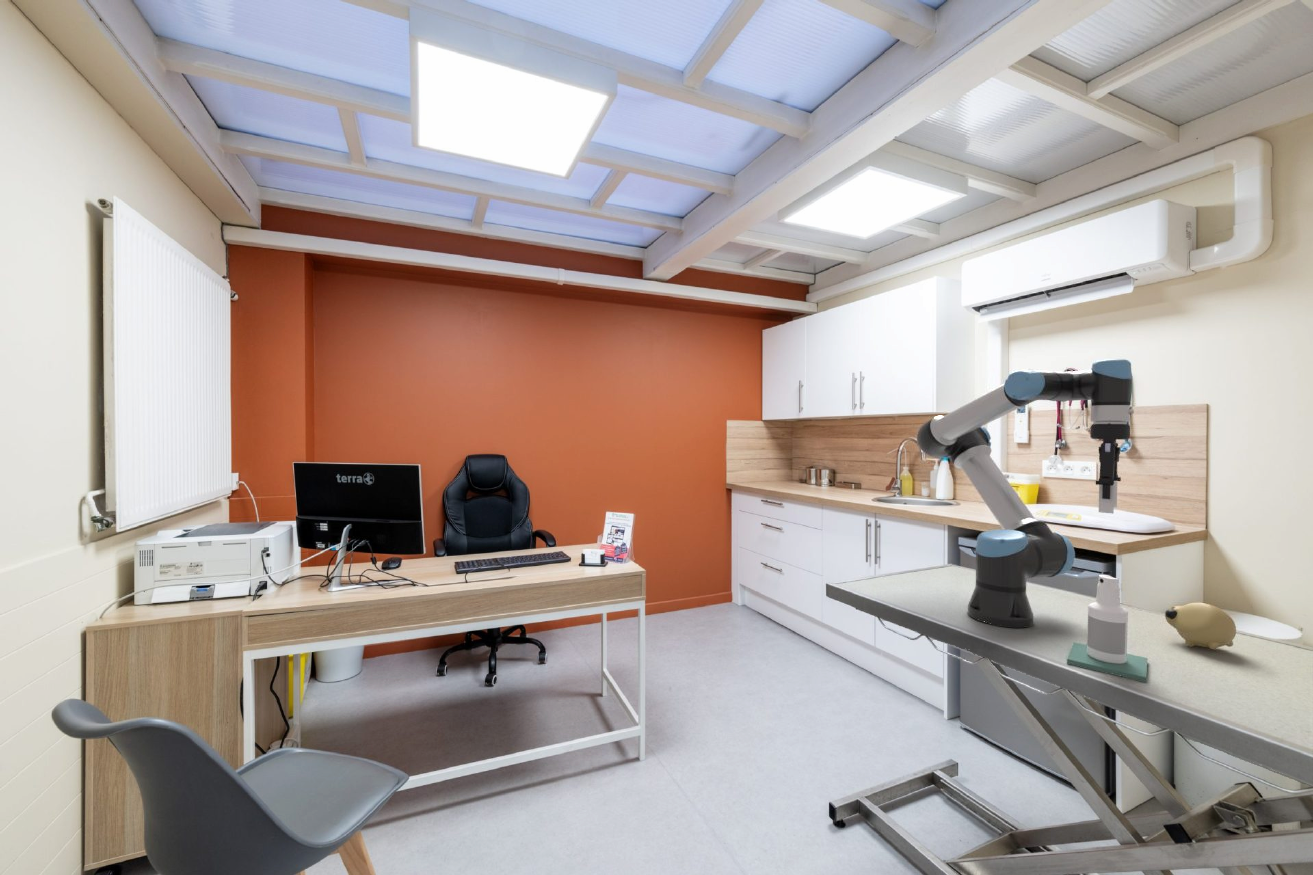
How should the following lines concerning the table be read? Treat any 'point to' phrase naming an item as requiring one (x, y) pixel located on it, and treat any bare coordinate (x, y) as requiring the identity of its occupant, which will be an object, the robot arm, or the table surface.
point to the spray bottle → (1107, 623)
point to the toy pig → (1202, 625)
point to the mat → (1130, 669)
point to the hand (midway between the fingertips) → (1107, 509)
